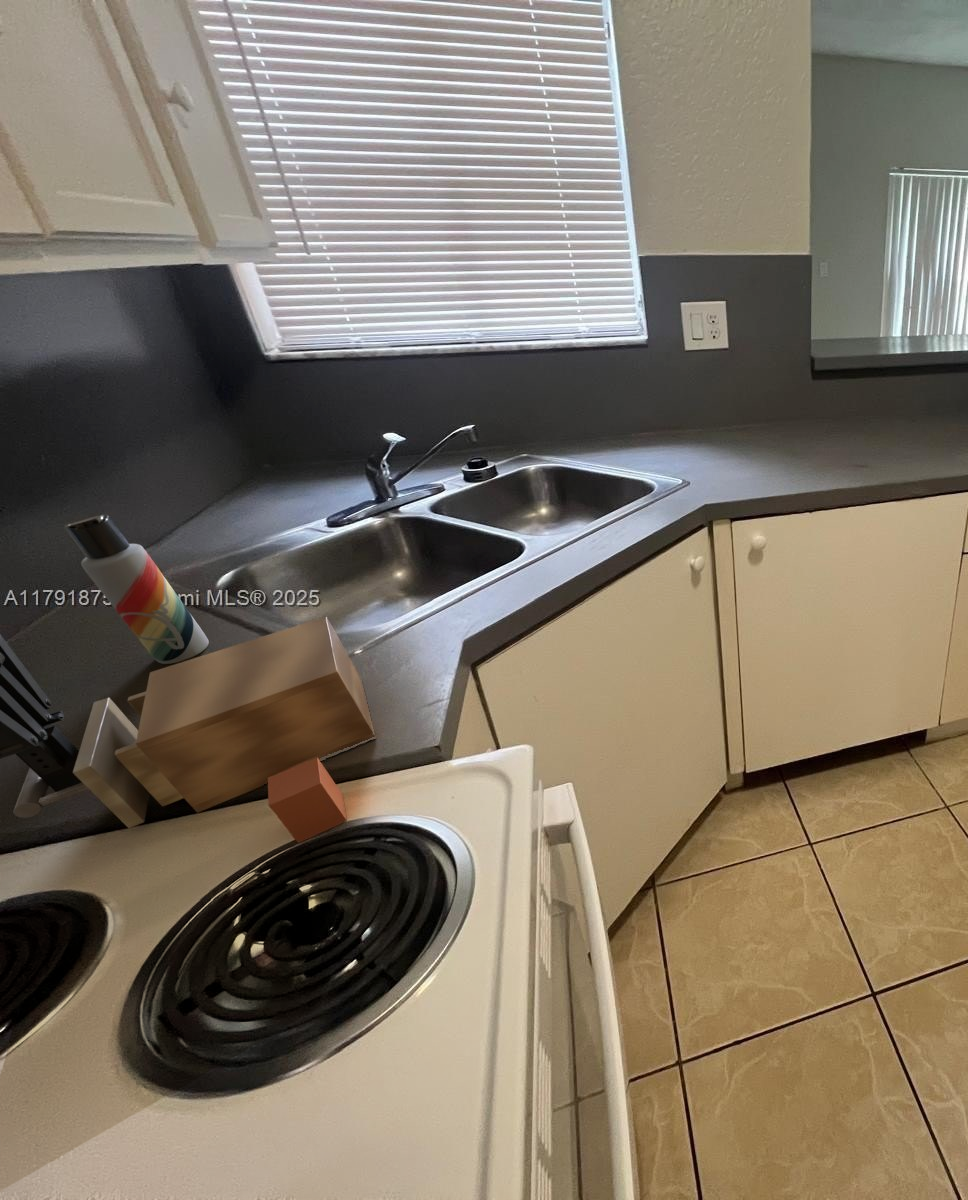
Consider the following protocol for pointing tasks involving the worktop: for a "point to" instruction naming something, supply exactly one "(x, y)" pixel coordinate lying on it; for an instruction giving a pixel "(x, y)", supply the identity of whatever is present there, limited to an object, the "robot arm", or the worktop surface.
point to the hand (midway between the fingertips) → (80, 784)
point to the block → (306, 800)
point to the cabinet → (252, 712)
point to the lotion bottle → (137, 591)
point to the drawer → (107, 769)
